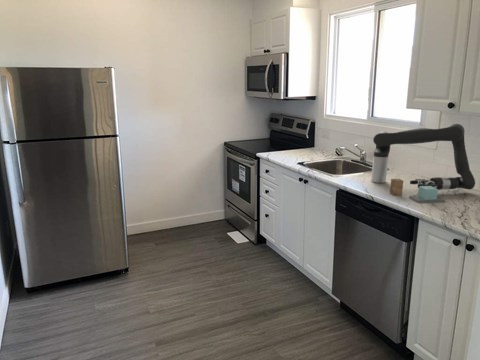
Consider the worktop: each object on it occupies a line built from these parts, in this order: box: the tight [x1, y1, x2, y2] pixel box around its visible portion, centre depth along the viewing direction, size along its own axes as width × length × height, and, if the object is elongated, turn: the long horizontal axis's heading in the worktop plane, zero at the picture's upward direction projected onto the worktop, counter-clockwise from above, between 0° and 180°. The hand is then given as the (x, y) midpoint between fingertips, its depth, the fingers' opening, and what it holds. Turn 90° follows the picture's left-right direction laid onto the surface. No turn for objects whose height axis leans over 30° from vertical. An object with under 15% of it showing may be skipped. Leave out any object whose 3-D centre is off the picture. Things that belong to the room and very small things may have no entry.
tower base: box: [408, 186, 446, 204], centre depth 219 cm, size 9×16×7 cm, turn 96°
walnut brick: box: [389, 178, 404, 197], centre depth 229 cm, size 5×5×9 cm
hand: (414, 184), depth 230 cm, fingers open, 8 cm apart
